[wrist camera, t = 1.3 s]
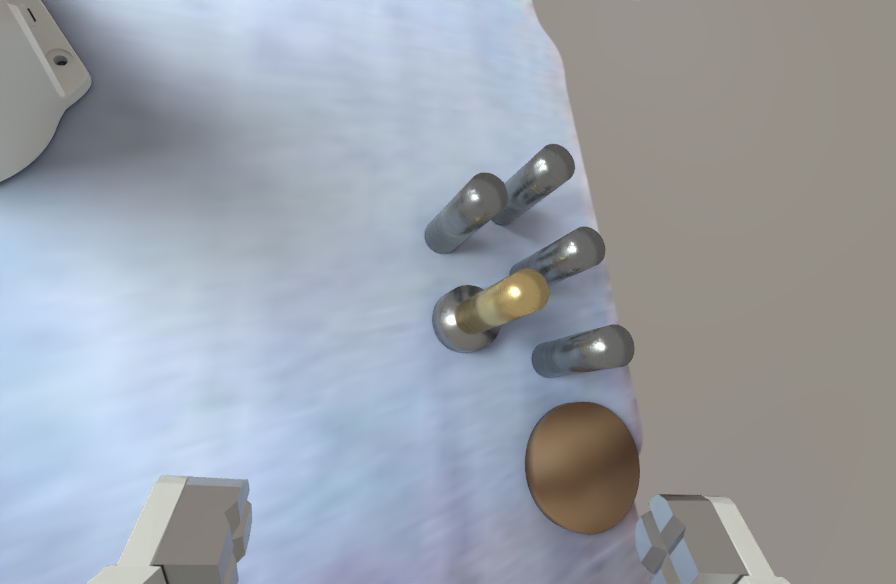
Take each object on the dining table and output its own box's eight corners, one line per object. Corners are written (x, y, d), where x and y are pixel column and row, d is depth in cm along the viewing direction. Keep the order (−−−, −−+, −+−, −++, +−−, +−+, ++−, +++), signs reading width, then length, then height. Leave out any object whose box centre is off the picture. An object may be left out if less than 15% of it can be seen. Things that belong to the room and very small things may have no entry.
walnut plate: (505, 434, 45) (513, 435, 44) (597, 383, 50) (607, 382, 49) (557, 555, 44) (567, 560, 43) (646, 492, 49) (658, 494, 48)
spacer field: (556, 382, 48) (629, 373, 39) (393, 309, 44) (433, 279, 35) (593, 243, 54) (664, 206, 45) (450, 166, 50) (497, 108, 41)
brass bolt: (422, 303, 45) (479, 264, 35) (475, 282, 48) (544, 240, 37) (448, 362, 45) (513, 343, 34) (500, 338, 47) (577, 313, 36)
